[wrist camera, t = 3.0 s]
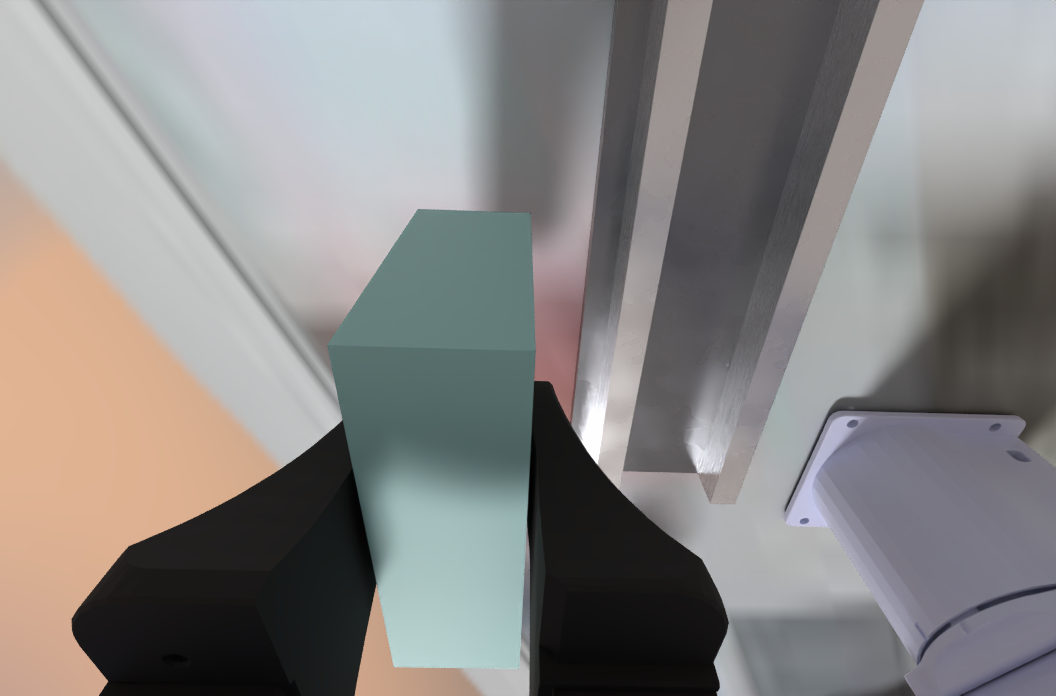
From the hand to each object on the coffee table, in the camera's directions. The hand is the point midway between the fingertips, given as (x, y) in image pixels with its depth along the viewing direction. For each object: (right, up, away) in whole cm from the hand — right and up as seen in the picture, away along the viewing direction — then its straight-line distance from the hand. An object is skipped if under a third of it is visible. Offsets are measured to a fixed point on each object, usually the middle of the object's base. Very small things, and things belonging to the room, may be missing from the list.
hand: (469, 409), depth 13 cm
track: (+8, +5, +7) cm, 12 cm away
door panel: (0, +1, +2) cm, 3 cm away
